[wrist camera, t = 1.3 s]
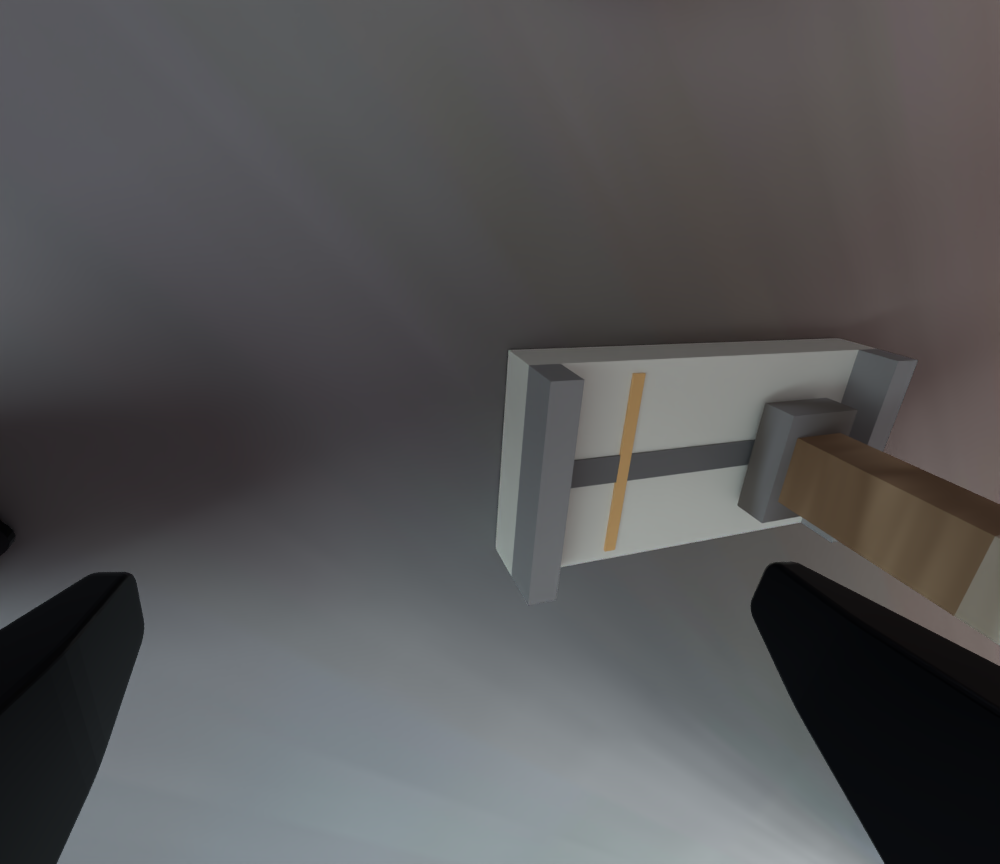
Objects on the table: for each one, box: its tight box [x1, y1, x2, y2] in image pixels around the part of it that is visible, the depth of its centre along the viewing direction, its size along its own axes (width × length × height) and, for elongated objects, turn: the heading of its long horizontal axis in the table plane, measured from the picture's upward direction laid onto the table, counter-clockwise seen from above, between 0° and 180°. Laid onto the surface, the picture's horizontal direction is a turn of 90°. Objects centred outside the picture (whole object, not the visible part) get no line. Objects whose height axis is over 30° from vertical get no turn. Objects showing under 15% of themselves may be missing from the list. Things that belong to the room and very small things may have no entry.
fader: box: [737, 398, 1000, 645], centre depth 19 cm, size 4×5×11 cm
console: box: [495, 338, 918, 606], centre depth 23 cm, size 17×9×4 cm, turn 86°
